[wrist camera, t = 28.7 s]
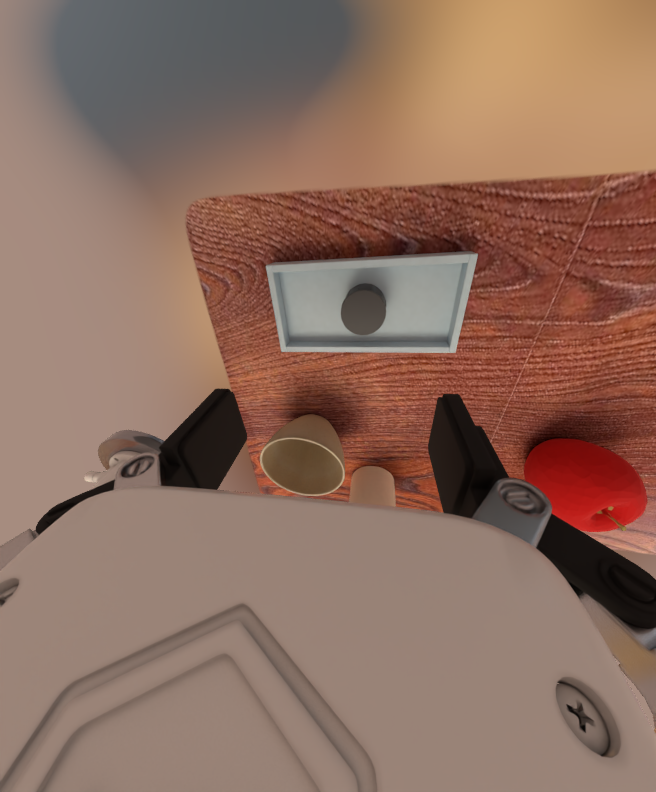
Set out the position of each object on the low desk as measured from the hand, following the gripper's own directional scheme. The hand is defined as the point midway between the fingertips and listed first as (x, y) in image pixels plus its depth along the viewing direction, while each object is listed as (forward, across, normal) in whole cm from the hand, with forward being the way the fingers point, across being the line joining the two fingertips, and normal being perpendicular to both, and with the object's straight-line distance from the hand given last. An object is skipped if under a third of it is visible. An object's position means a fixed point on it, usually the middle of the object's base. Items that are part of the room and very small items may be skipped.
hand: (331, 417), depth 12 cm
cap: (+14, -1, -1) cm, 14 cm away
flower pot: (+17, +6, +15) cm, 24 cm away
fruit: (+16, -24, +17) cm, 34 cm away
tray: (+16, -1, -1) cm, 17 cm away
